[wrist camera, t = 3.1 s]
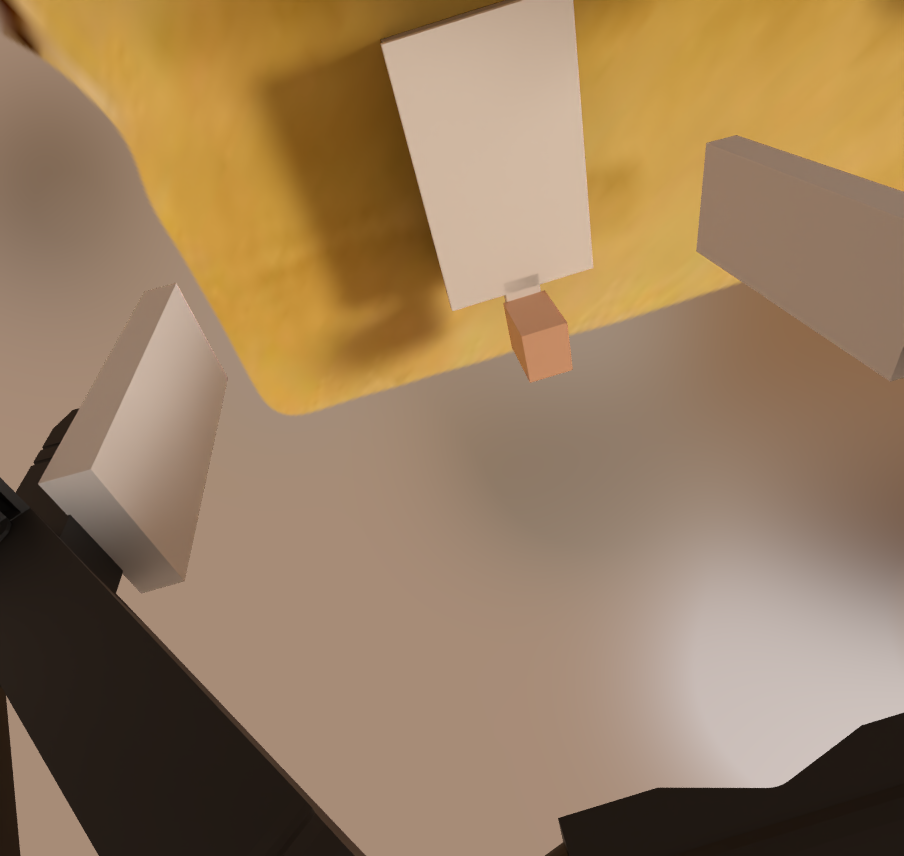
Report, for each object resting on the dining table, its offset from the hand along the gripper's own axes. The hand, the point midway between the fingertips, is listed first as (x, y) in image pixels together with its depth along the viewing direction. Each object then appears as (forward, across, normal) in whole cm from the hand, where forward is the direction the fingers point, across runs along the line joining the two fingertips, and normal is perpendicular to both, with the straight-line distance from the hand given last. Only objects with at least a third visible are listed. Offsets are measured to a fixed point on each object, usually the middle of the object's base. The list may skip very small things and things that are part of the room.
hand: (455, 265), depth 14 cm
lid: (+26, +7, -7) cm, 28 cm away
